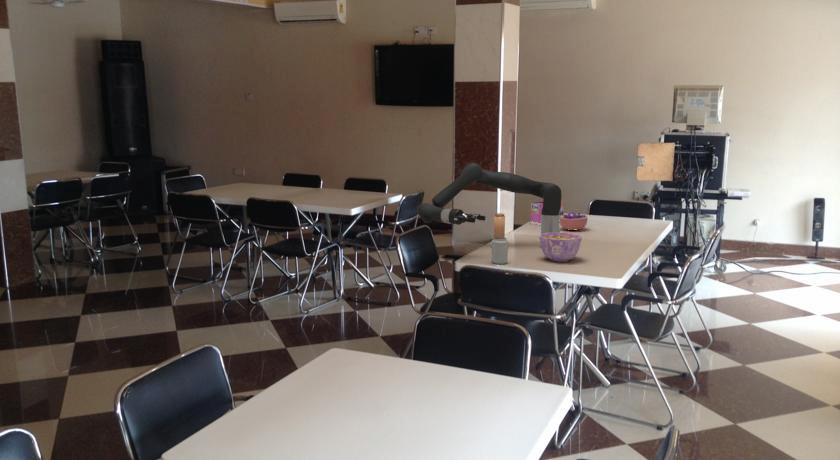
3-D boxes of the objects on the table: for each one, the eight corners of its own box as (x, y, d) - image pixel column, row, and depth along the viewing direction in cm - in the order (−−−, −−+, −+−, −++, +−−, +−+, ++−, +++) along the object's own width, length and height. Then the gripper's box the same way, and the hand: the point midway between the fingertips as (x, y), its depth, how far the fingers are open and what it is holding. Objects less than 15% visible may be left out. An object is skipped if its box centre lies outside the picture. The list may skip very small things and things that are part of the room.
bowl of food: (554, 265, 320) (554, 241, 318) (530, 257, 338) (530, 234, 336) (589, 262, 328) (590, 237, 326) (564, 254, 346) (565, 231, 344)
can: (490, 261, 330) (490, 236, 328) (505, 261, 330) (506, 236, 328) (493, 264, 322) (493, 239, 320) (509, 264, 323) (509, 238, 321)
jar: (503, 236, 328) (503, 213, 326) (505, 238, 323) (506, 214, 321) (492, 236, 327) (493, 213, 325) (495, 238, 322) (495, 214, 320)
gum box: (556, 220, 454) (557, 199, 451) (565, 222, 447) (566, 201, 445) (529, 224, 440) (530, 202, 438) (538, 225, 434) (539, 204, 431)
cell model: (592, 229, 420) (592, 210, 418) (580, 233, 404) (581, 214, 402) (565, 226, 429) (565, 208, 427) (553, 231, 413) (553, 212, 411)
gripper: (443, 210, 334) (471, 213, 324) (461, 207, 345) (488, 209, 335) (443, 225, 336) (471, 229, 326) (460, 222, 347) (488, 225, 336)
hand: (480, 219), depth 330 cm, fingers open, 8 cm apart
